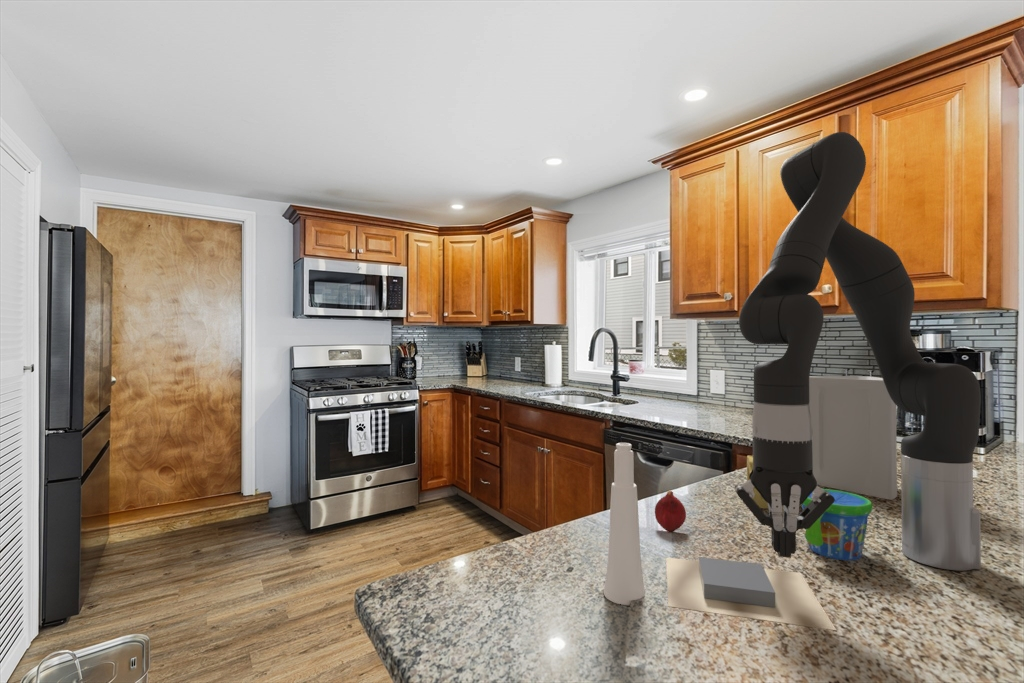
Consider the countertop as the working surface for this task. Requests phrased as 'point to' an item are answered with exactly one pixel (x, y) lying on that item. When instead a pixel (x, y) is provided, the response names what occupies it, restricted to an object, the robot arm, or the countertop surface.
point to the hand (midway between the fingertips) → (783, 554)
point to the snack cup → (840, 527)
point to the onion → (670, 512)
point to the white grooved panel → (854, 435)
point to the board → (790, 604)
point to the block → (736, 582)
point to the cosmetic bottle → (624, 533)
